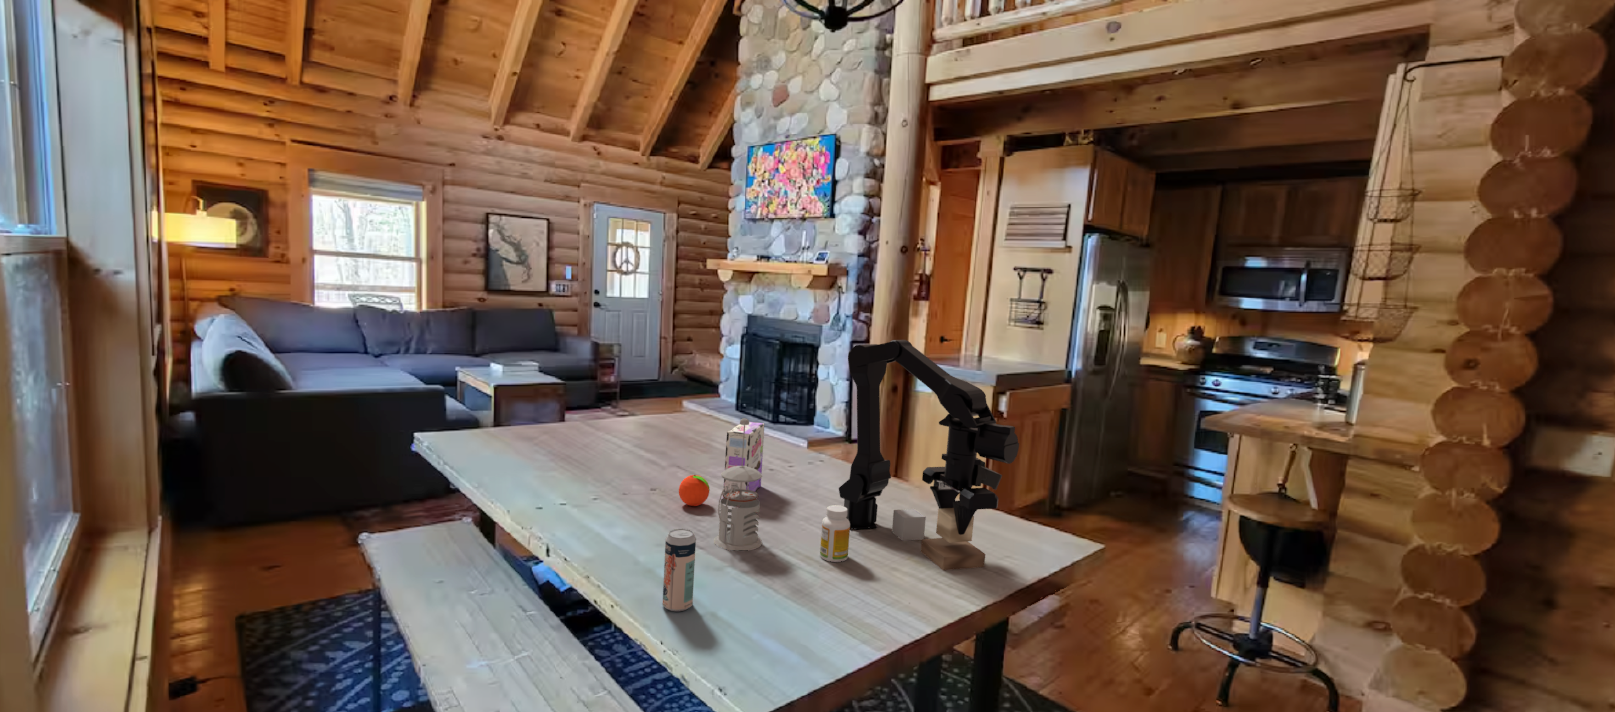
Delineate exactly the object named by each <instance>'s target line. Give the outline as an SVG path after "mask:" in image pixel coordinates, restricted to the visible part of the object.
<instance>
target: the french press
mask: <svg viewBox="0 0 1615 712" xmlns="http://www.w3.org/2000/svg"><path fill="white" fill-rule="evenodd" d="M749 422H750V420H749V419H747V418H741V419H740V420H739V424H741V425H744V434H743V451H742V466H734V467H730V468H728V469H727V470H725V469H724V470H723V471H722V472H720V476H721V478H722V479H723V480H724V479H725V480H728V481H732V482H741V486H740V489H737V488H736V489H735V487H733V488H732V489H729V490H728V486H725V488H726V487H727V490H726V491H725V492H723V491H724V489H725V488H724V487H723V489H722V491H721V493H720V496H719V499H718V505H717V506H718V507H717V508H718V509H717V512H718V513H717V514H718V520H719V522H718V523H719V524H718V534H717V535H716V537H714V538H713V539H714V543H713V545H715V544H717V545H718V546H719V547H722V548H724V549H723V550H725V549H727V550H726V551H730V550H748V551H753V550H755V549H758V548H760V547H761V546H760V545H761V544H762V545H763V541H762V539H761V537H759V534H758V533H757V532H759V527H758V526H759V524H760V523H759V521H758V520H759V519H760V516H759V514H758V513H760V506H761V503H760V500H759V499H758V498H759V493H757V492H756V491H751V490H745V489H741V487H742V482H753V481H757V480H759V479H760V478H761V479H762V477H763V474H761V473H760V472H759V471H757V470H756V469H754V468H751V467H747V466H743V452H744V435H745V425H749ZM723 497H724V498H723ZM729 507H731V508H729ZM729 513H730V514H731V515H730V514H729ZM729 519H730V521H729ZM757 519H758V520H757ZM728 525H729V526H730V527H729V526H728ZM719 547H718V548H719ZM722 548H721V549H722Z"/></svg>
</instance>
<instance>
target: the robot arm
mask: <svg viewBox="0 0 1615 712" xmlns="http://www.w3.org/2000/svg"><path fill="white" fill-rule="evenodd" d="M847 354H848V355H847V362H848V370H849V374H850V376H851V378H852V379H853V382H854V383H855V385H856V433H857V434H856V435H857V436H856V437H857V438H856V439H857V440H856V442H857V443H856V449H857V450H856V451H857V452H856V454H855V456H854V458H853V461H852V463H851V465H850V472H849V478H848V480H846V481H845V482H843V484H841V485H840V486H839V487H838V492H839V497H840V499H843V500H844V501H843V506H844V507H846V508H847V510H848V511H847V517H846V518H847V519H848V520H849V522H850V530H861V529H862V530H863V529H877V528H878V524H876V522H877V517H878V506H879V505H878V504H877V497H880V496H881V495H882V493H883V490H885V489H886V487H887V486H889V481H890V479H891V478H892V476H891V469H890V468H891V460H890V459H885V458H884V456H883V455H882V452H881V414H880V413H881V407H880V406H881V405H880V402H881V400H880V399H881V395H880V392H881V388H880V386H881V383H882V381H883V380H884V377H885V375H886V371H887V368H888V367H887V366H888V364H890V363H894V362H896V363H898V364H899V365H900V366H901V367H903V368H904V369H905V370H906V371H908V373H910V374H911V375H912V376H914V377H915V378H916V379H918V380H919V382H921V383H922V384H923V385H924V386H926V387H927V388H928V389H930V390H931V391H932V392H933V393H934V394H935V395H936V397H937V399H938V401H939V404H940V405H941V406H942V407H943V409H945V411H946V412H947V415H946V416H945V417H944V418H942V419H941V420H940V421H938V425H940V426H943V427H948V433H947V434H948V435H947V443H946V444H947V445H946V452H945V453H942V454H941V460H943V461H945V465H944V466H932V467H931V466H927V467H926V468H925V469H924V470H923V471H922V478H921V479H922V480H921V481H923V482H924V483H925V484H928V485H931V486H929V489H930V490H931V492H932V494H933V497H934V499H935V501H936V505H937V507H938V509H943V508H954V513H955V519H956V525H957V529H958V533H959V534H960V535H963V534H965V532H966V529H967V527H968V525H969V523H970V521H971V519H972V517H973V516H975V513H976V512H977V511H978V510H991V509H992V510H993V509H994V510H995V509H998V505H999V496H998V495H997V494H996V493H995V492H994V491H992V490H995V491H997V489H998V486H999V485H1000V482H1001V480H1002V477H1003V474H1001V473H999V472H996V471H995V470H994V469H993V470H992V469H990V468H988V467H986V462H985V461H984V460H982V459H980V458H978V457H977V456H979V457H981V458H984V459H988V460H992V461H997V462H999V463H1000V462H1001V463H1005V464H1010V465H1011V464H1012V463H1013V462H1014V461H1016V458H1017V456H1018V453H1019V447H1020V443H1019V438H1018V436H1017V434H1016V432H1015V431H1016V427H1015V426H1013V425H1004V424H1003V425H1002V424H997V421H996V420H997V419H996V418H995V417H994V415H993V413H992V411H991V409H990V407H989V405H988V403H987V398H986V395H987V394H986V393H985V392H984V391H983V390H982V389H981V388H980V387H978V386H976V385H974V384H972V383H970V382H968V381H966V380H963V379H960V378H957V377H955V376H953V375H951V374H950V373H949V372H947V371H946V370H945V369H943V368H942V367H940V366H939V365H938V364H937V363H935V362H934V361H933V360H932V359H930V358H929V357H928V356H927V355H925V354H924V353H922V352H921V351H920V350H918V349H917V348H916V347H915V346H913V344H912V343H911V342H910V341H908V339H893V340H890V341H888V342H885V343H880V344H877V343H871V344H869V343H868V344H856V345H854V346H853V347H852V348H851V349H850V350H849V352H848V353H847ZM977 416H978V417H977ZM932 483H933V485H932ZM982 485H984V486H988V487H989V488H990V487H991V489H992V490H990V489H988V488H986V487H982ZM958 496H959V498H958V499H959V500H956V498H957V497H958Z"/></svg>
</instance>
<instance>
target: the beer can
mask: <svg viewBox="0 0 1615 712" xmlns="http://www.w3.org/2000/svg"><path fill="white" fill-rule="evenodd" d="M664 540H665V546H664V547H665V548H664V565H663V567H664V569H663V589H662V606H663V608H665V609H667V610H668V611H670V612H675V613H676V612H684V611H686V610H688V609H690V608H691V607H692V606H693V604H694V600H693V599H694V597H693V596H694V583H695V582H694V581H695V565H696V564H695V563H696V548H697V547H696V545H697V543H696V542H697V537H696V535H695V532H694V531H693V530H691V529H688V528H687V529H686V528H676V529H675V528H673V530H669V532H668V534H667V536H665V539H664Z"/></svg>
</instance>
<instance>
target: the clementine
mask: <svg viewBox="0 0 1615 712" xmlns="http://www.w3.org/2000/svg"><path fill="white" fill-rule="evenodd" d="M710 491H711V490H710V485H709V482H708V481H707V480H706V478H704V477H702V476H701V475H700V474H698V475H697V474H692V475H688V476H686V477H685V478H683V480H682V481H681V482H680V484H679V487H678V495H679V498H680V501H682V502H683V503H684V504H685V505H687V506H692V507H696V506H697V507H698V506H700V505H702V504H704V503H705V502H706V500H708V498H709V495H710Z"/></svg>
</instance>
